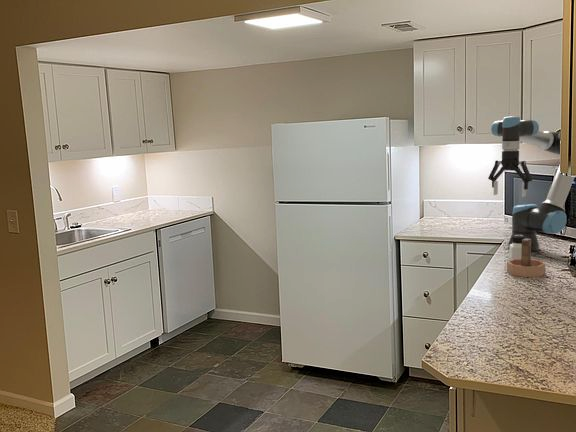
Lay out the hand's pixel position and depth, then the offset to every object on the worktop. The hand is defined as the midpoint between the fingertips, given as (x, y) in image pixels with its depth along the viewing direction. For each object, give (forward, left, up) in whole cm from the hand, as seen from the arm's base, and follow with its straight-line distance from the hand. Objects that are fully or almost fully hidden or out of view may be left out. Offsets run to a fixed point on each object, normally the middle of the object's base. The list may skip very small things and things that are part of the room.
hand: (509, 195), depth 278 cm
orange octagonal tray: (+15, +15, -32) cm, 38 cm away
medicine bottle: (-5, +3, -32) cm, 32 cm away
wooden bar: (+15, +15, -31) cm, 37 cm away
